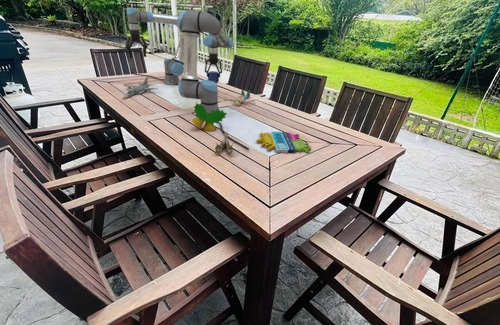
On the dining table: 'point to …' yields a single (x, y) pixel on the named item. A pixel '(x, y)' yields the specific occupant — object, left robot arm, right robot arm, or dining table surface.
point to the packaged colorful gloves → (283, 142)
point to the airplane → (138, 89)
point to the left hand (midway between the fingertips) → (138, 57)
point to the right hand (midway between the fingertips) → (213, 80)
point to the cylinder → (213, 76)
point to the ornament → (207, 117)
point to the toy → (241, 99)
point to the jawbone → (224, 145)
